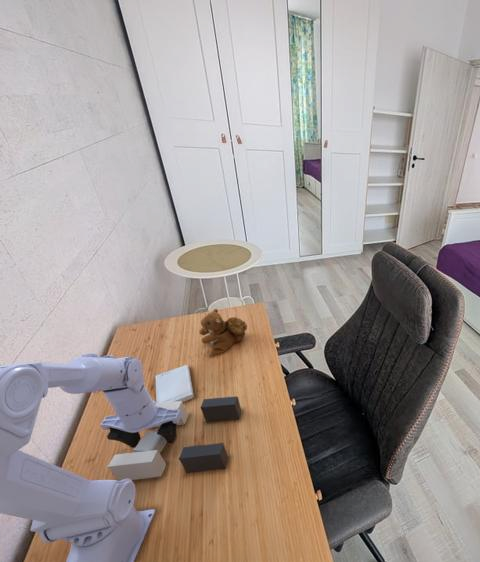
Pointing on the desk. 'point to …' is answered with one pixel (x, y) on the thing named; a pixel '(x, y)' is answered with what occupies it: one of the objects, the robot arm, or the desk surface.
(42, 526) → the robot arm
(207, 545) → the desk surface
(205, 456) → the grey cases
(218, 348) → the stuffed squirrel
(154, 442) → the usb wall charger
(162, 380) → the hard drive
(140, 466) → the white cases
